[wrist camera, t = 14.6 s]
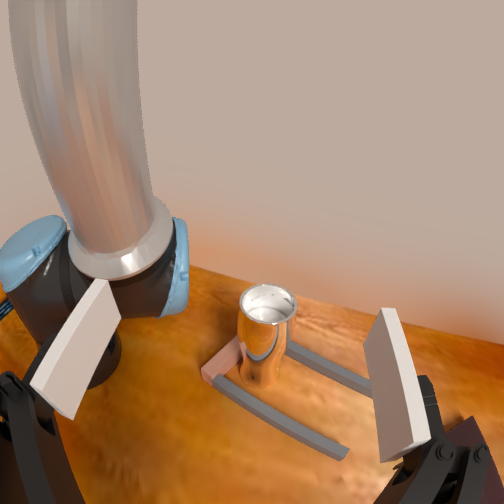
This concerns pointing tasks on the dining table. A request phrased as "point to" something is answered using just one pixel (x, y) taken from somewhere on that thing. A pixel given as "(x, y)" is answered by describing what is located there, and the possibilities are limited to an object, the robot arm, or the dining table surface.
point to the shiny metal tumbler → (264, 332)
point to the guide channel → (226, 361)
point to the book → (467, 434)
